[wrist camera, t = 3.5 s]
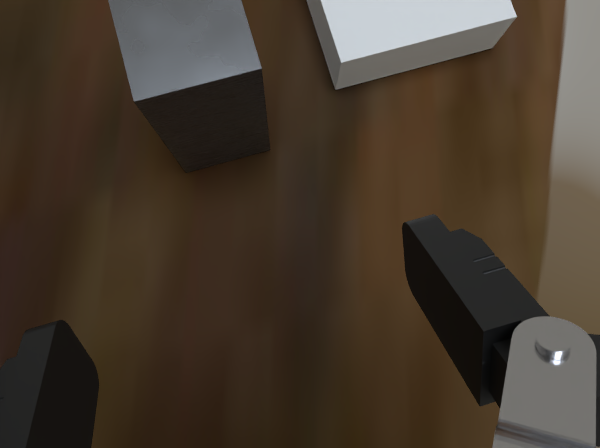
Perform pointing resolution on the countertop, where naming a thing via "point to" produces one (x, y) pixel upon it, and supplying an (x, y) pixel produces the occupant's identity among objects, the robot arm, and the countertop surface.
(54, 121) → the countertop surface
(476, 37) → the white square hole block
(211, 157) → the steel square peg
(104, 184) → the countertop surface
